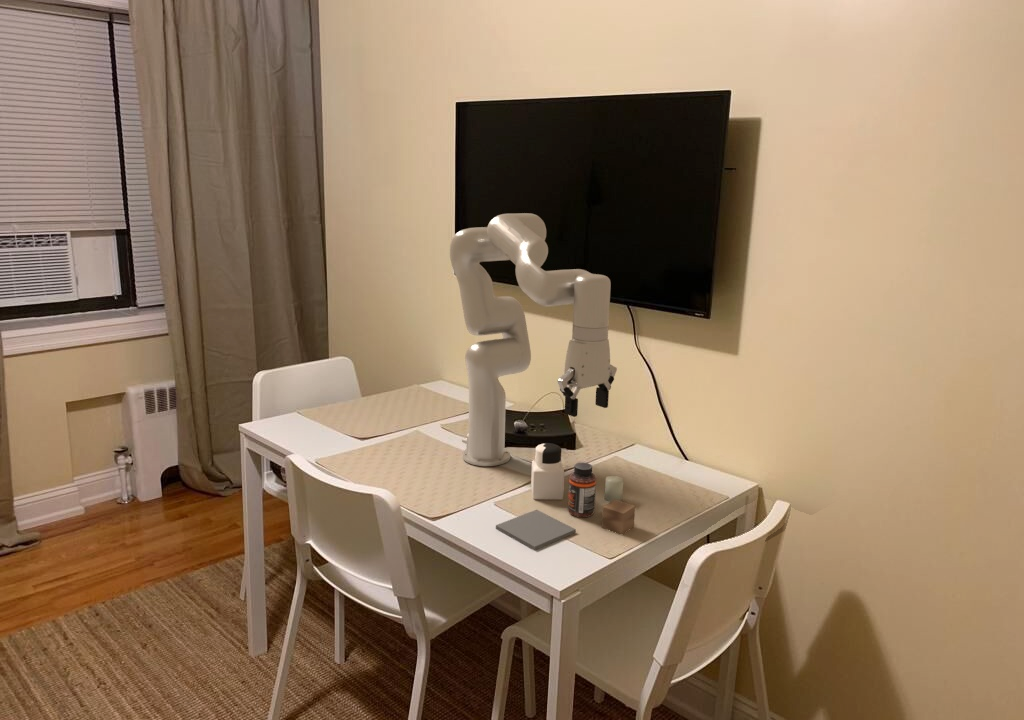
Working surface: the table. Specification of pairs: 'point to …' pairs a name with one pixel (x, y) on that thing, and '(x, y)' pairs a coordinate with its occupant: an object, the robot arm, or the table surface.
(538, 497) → the medicine bottle
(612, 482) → the sage cylinder
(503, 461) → the robot arm
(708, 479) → the table surface
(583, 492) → the supplement bottle
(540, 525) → the slate mat
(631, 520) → the walnut block
